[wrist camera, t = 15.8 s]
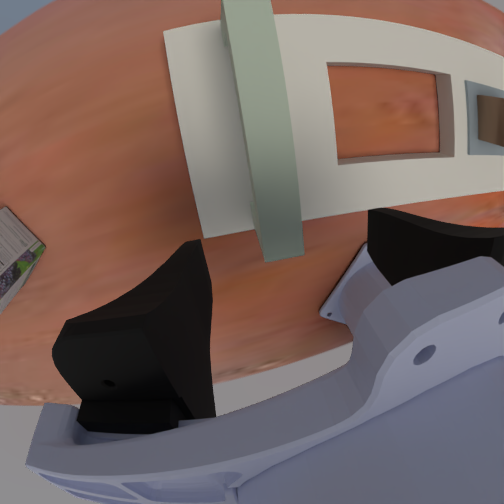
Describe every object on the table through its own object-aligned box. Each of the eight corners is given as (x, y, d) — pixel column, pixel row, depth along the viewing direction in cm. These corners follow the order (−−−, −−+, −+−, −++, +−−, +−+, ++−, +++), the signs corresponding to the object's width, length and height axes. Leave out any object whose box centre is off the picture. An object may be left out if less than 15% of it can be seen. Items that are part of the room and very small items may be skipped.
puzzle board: (491, 57, 15) (507, 57, 13) (495, 184, 22) (509, 191, 20) (168, 38, 15) (162, 30, 13) (205, 227, 21) (203, 240, 19)
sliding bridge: (254, 21, 13) (268, -11, 8) (283, 218, 19) (304, 255, 14) (220, 25, 13) (221, -6, 8) (253, 224, 19) (265, 262, 14)
